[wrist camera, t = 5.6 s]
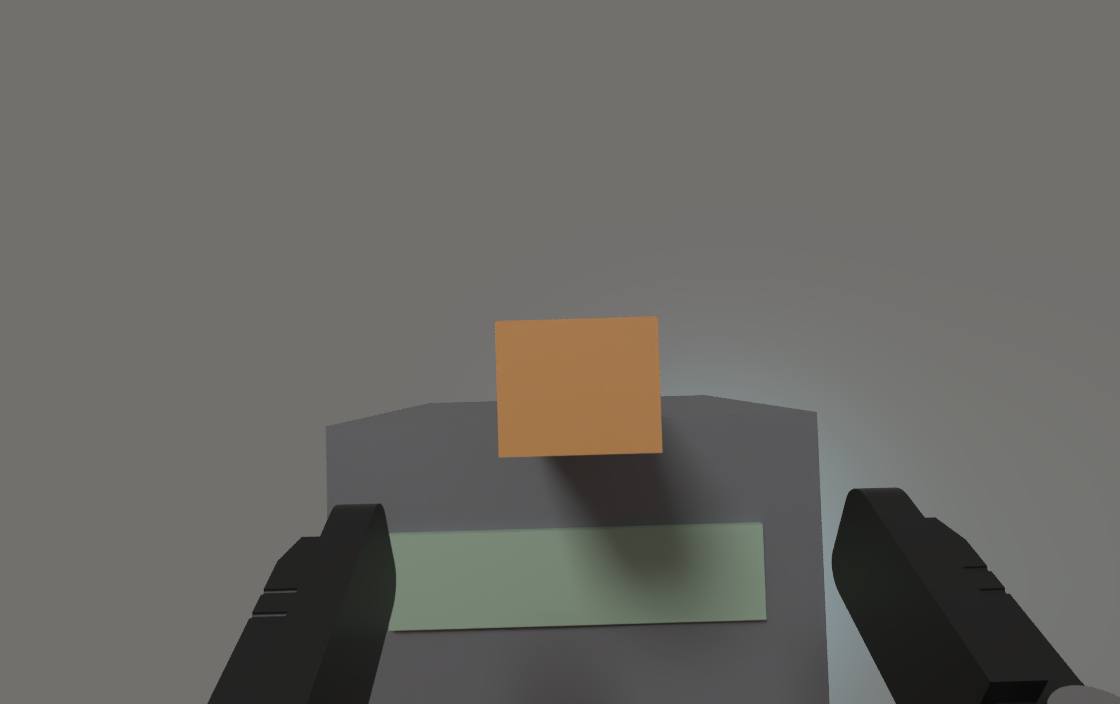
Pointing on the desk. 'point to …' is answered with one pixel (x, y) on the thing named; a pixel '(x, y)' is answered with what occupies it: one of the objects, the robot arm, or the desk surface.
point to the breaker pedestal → (596, 559)
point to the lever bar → (578, 387)
